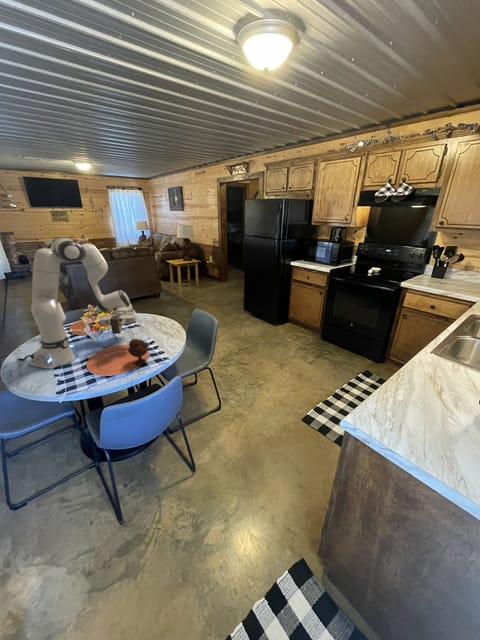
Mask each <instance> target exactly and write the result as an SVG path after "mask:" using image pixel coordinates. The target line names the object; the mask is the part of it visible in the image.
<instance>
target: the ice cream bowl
mask: <svg viewBox="0 0 480 640" xmlns="http://www.w3.org/2000/svg"><path fill="white" fill-rule="evenodd" d="M148 351H149V344H147V343H146V342H145V341H144V340H142V339H138V338H132V339H131V340H130V341H129V343H128V348H127V352H128V353H129V354H130V355H131V356H132V357H135V358H138V359H137V360H136V361H135V364H136V365H139V366H140V365H144V364H145V363H146V360H145V358H142V357H144V356H145V355H146V354H147V353H148Z"/></svg>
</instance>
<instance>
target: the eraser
mask: <svg viewBox="0 0 480 640" xmlns="http://www.w3.org/2000/svg"><path fill="white" fill-rule="evenodd" d="M119 322H121V321H120V316H112V317H111V319H110V324H111V326H110V327H111V331H112V332H111V333H112V335H118V334H119V335H120V334H121V333H122V331H123V325H119Z"/></svg>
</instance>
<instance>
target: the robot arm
mask: <svg viewBox="0 0 480 640" xmlns="http://www.w3.org/2000/svg"><path fill="white" fill-rule="evenodd" d="M35 251H36V252H35V254H34V258H33V263H32V283H31V284H32V286H31V287H32V293H31V296H32V297H31V307H30V311H31V314H32V316H33V319H34V321H35V324H36V326H37V328H38V331H39V334H40V337H41V341H39V342H38V344H39V345H41V346H40V347H39V348H38V349H37V350H36V351H34V352H33V353H32V354H28V355H26V356H24V357H23V358H17V361H25V360H26V359H27V358H29V357H30V359H31V361H30V363H29V365H30V366H31V367H37V368H42V369H47V370H51V369H54V368H57V367H58V368H59V367H61V366H64V365H67V364H70V363H72V362H73V361H74V360H76V354H75V353H74V350H73V349H72V348H73V347H74V345H73V344H72V345H71V344H70V342H69V337H67V335H66V334H67V333H66V329H65V327H64V322H63V323H62V321H61V318H60V314H59V311H58V307H57V302H58V296H59V287H60V286H59V283H60V266H61V263H62V262H63V261H65V262H68V263H69V262H70V263H71V262H72V263H73V262H78V261H80V262H81V263H82V264H83V266H84V268H85V269H86V272H87V273H86V275H85V280H86V283H87V285H88V288H89V290H90V292H91V294H92V296H93V298H94V300H95V304H96V307H97V308H98V310H99V311H100V312H101V311H102V312H104V313H107V312H109V311H111V310H113V309H116V310H115V311H114V312H113V314H106V315H103V316H102V317H100V318H99V325H101V326H107V325H108V326H109V327H111V324H110V319H111V317H112V316H120V321H121V322H119V325H121V326H123V325H125V324H135V323H137V321H138V319H137V313H136V310H135V309H133V304H131V300H130V296H129V295H128V293H126V292H125V291H123V290H116V291H113V292H111V293H108V294H102V291H101V289H100V287H99V284H98V283H99V282H100V281H101V279H103V278H104V277H105V276H106V275H107V273H108V271H109V266H108V263H107V261H106V260H105V258H104V256H103V255H102V253H101V252H100V251H99V250H98V249H97V247H96V246H95V245H94V244H93V243H88V242H87V243H82V244H79V243H77V242H76V241H75V240H73V239H71V238H69V237H65V236H59V237H56V238H55V239H53V241H52V242H51V243H50V244H49V245H48V247H43V248H38V249H37V250H35Z"/></svg>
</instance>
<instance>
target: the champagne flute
mask: <svg viewBox="0 0 480 640" xmlns="http://www.w3.org/2000/svg"><path fill="white" fill-rule="evenodd" d="M57 307H58V311H59V314H60V318H61V321H62V323H63V324H64V323H65V321H66V319H67V317H66V315H65V313H64V309H63V307H62V305H61V303H60V302H59V301H57ZM65 334H66V335H67V337H68V338H69V337H71V334H70V333H65Z"/></svg>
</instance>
